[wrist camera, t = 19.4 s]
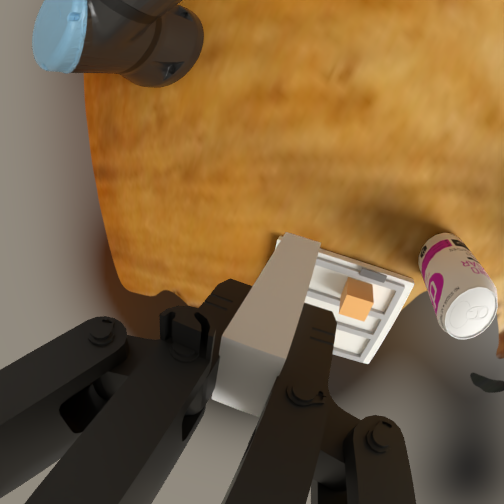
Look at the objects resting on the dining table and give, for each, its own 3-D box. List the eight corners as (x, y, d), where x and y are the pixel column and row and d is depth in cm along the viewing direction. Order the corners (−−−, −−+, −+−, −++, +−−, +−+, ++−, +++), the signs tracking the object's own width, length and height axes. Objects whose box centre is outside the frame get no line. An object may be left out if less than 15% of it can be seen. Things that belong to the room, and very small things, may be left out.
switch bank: (257, 324, 53) (253, 332, 51) (280, 234, 44) (276, 240, 42) (368, 359, 48) (367, 368, 46) (413, 277, 40) (416, 286, 38)
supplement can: (416, 282, 40) (434, 346, 27) (418, 232, 37) (445, 284, 24) (461, 279, 37) (491, 339, 24) (466, 229, 34) (508, 278, 21)
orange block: (340, 295, 43) (338, 313, 39) (348, 276, 42) (347, 294, 37) (364, 302, 42) (364, 321, 38) (372, 284, 41) (373, 302, 37)
